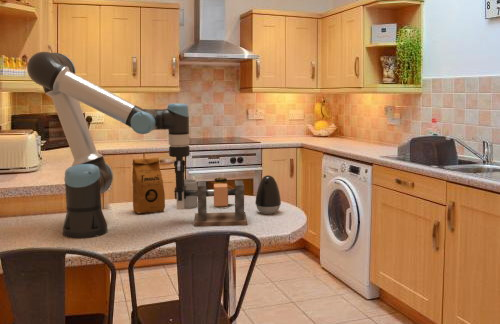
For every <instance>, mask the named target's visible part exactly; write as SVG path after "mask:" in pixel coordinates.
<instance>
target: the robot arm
mask: <svg viewBox="0 0 500 324" xmlns="http://www.w3.org/2000/svg"><path fill="white" fill-rule="evenodd" d="M26 69H27V74H28V76H29V79H31V81H33V82H34V83H35V84H36V85H39V86H41V87H42V88H43V91H44V94H45V95H46V96H48V97H49V98H51V101H52V103H53V106H54V108H55V112H56V114H57V116H58V119H59V122H60V125H61V127H62V131H63V133H64V135H65V138H66V140H67V144H68V146H69V149H70V152H71V154H72V155H71V156H72V157H73V162H72V165H71V166H70V167H69V166H68V168H66V170H65V172H64V188H65V203H66V204H65V205H66V215H65V217H64V218H65V219H64V221H63V224H62V235H63V236H64V237H66V238H70V237H71V238H73V239H85V238H93V237H99V236H102V235H104V234H106V233H107V232H108V231H109V230H108V229H109V228H108V222H107V220H106V218H105V217H106V216H104V213H103V210H102V209H103V208H102V194H104V193H106V191H107V190H109V188H110V187H111V186H112V183H113V181H114V180H113V179H114V173H113V170H112V169H111V167H110V166H109V165H108V164H107V163H106V161H105V159H104V155H103V154H102V153H99V152H98V151H97V149H96V146H95V143H94V140H93V138H92V137H93V136H92V134H91V132H90V129H89V126H88V123H87V121H86V118H85V115H84V113H83V109H82V106H81V105H80V103H82V104H84V105H86V106H89V107H91V108H92V109H94V110H96V111H99V112H100V113H102V114H104V115H105V116H108V117H110V118H112V119H114V120H116V121H118V122H119V123H122V124H124V125H126V126H128V127H129V128H130V129H132V130H133V131H134V132H135V133H136V134H139V135H146V134H149V133H151V132H153V131H155V130H157V131H158V130H161V131H162V130H165V131H166V130H167V131H168V135H167V136H168V145H169V147H168V155H169V157H172V158H175V160H174V162H173V166H174V173H175V188H176V190H175V189H174V191H173V192H174V193H175V192H176V199H175V200H176V210H184V206H185V199H184V190H183V187H186V186H184V185H185V183H184V179H185V172H186V171H185V170H186V167H185V166H186V160H185V159H184V158H186V157H189V156H190V154H191V153H190V146H189V144H190V140H191V139H192V137H191V135H190V115H189V106H188V104H186V103H180V102H179V103H168V105H167V108H162V109H158V108H153V109H152V108H148V109H147V108H142V107H140V106H137V105H136V104H134V103H132V102H130V101H129V100H126V99H125V98H122V97H120V96H118V95H116V94H115V93H112V92H111V91H109V90H107V89H105V88H104V87H101V86H99V85H97V84H96V83H94V82H91V81H90V80H87V79H85V78H84V77H82V76H80V75H78V74H76V68H75V65H74V62H73V61H72V59H70V58H69V57H68V56H67V55H65V54H62V53H59V52H49V51H39V52H36V53H34V54H33V55H31V57H29V60H28V62H27V66H26ZM189 135H190V136H189Z"/></svg>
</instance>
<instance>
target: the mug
mask: <svg viewBox="0 0 500 324" xmlns="http://www.w3.org/2000/svg"><path fill="white" fill-rule="evenodd" d="M184 183H185V185H184V186H186V190H198V187H197V186H198V181H197V179H191V178H189V179H188V178H184ZM195 208H198V196H186V199H185V206H184V209H185V210H188V209H195ZM184 209H183V210H184Z"/></svg>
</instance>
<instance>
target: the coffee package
mask: <svg viewBox="0 0 500 324" xmlns="http://www.w3.org/2000/svg"><path fill="white" fill-rule="evenodd" d="M159 159H160V157H152V158H136V159H134V158H133V159H132V176H131V177H132V207H133V208H132V209H133V211H134V212H135V213H137V214H138V213H139V214H149V213H158V212H164V211H165V207H166V200H165V199H166V197H165V196H166V193H165V187H164V181H163V175H162V172H161V166H160V160H159Z"/></svg>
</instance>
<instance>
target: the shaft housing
mask: <svg viewBox="0 0 500 324" xmlns="http://www.w3.org/2000/svg"><path fill="white" fill-rule="evenodd" d="M234 189H236V195H234V212H233V211H231V212H226V211H225V212H207V210H208V209H207V207H208V206H207V196H206V190H207V180H201V181H199V180H198V181H197V190H198V196H197V202H198V206H197V212H195V213H194V220H193V227H195V228H196V227H223V226H224V227H225V226H227V227H228V226H232V227H233V226H248V218H247V215H246V211H245V184H244V180H234Z"/></svg>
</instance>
